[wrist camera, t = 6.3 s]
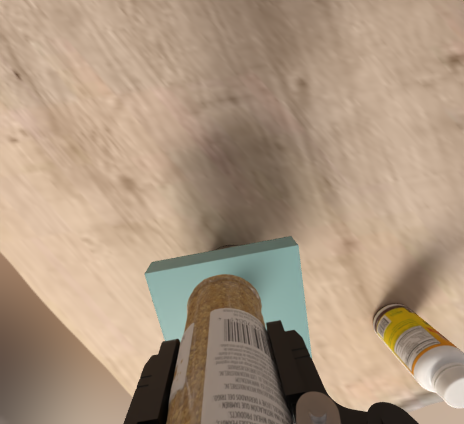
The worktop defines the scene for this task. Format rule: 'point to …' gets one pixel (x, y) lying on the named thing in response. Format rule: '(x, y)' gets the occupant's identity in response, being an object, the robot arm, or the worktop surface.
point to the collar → (238, 264)
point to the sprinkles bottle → (226, 360)
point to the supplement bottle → (423, 352)
